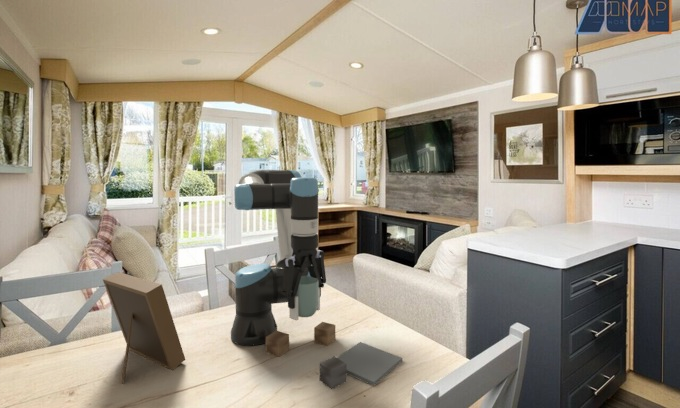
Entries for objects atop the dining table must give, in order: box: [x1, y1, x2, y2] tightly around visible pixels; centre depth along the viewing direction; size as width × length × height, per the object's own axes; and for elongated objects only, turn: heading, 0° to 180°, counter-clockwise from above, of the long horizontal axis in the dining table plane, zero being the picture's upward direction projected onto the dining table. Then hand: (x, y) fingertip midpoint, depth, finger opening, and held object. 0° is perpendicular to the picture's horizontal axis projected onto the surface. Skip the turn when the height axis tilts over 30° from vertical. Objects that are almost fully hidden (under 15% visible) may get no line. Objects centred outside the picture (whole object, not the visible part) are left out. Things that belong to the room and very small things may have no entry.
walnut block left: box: [313, 321, 336, 347], centre depth 112 cm, size 5×5×5 cm
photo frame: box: [102, 271, 186, 385], centre depth 97 cm, size 15×22×25 cm
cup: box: [291, 276, 319, 318], centre depth 97 cm, size 8×8×10 cm
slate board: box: [335, 341, 403, 387], centre depth 99 cm, size 15×15×1 cm
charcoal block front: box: [319, 356, 347, 390], centre depth 91 cm, size 5×5×5 cm
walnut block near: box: [265, 330, 290, 358], centre depth 106 cm, size 5×5×5 cm
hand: (305, 313), depth 97 cm, fingers closed on cup, 8 cm apart
